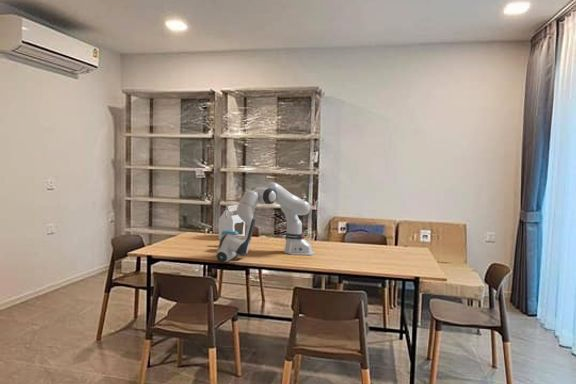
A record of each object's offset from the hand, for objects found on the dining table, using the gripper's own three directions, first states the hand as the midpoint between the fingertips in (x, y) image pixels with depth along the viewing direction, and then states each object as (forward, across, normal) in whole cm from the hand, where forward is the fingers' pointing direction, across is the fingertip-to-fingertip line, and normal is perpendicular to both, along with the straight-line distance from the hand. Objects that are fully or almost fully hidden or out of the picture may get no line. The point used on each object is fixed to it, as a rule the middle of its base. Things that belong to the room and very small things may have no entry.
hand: (236, 248), depth 299 cm
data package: (+29, +14, +6) cm, 32 cm away
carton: (+14, +5, +5) cm, 15 cm away
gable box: (+64, +24, +6) cm, 68 cm away
